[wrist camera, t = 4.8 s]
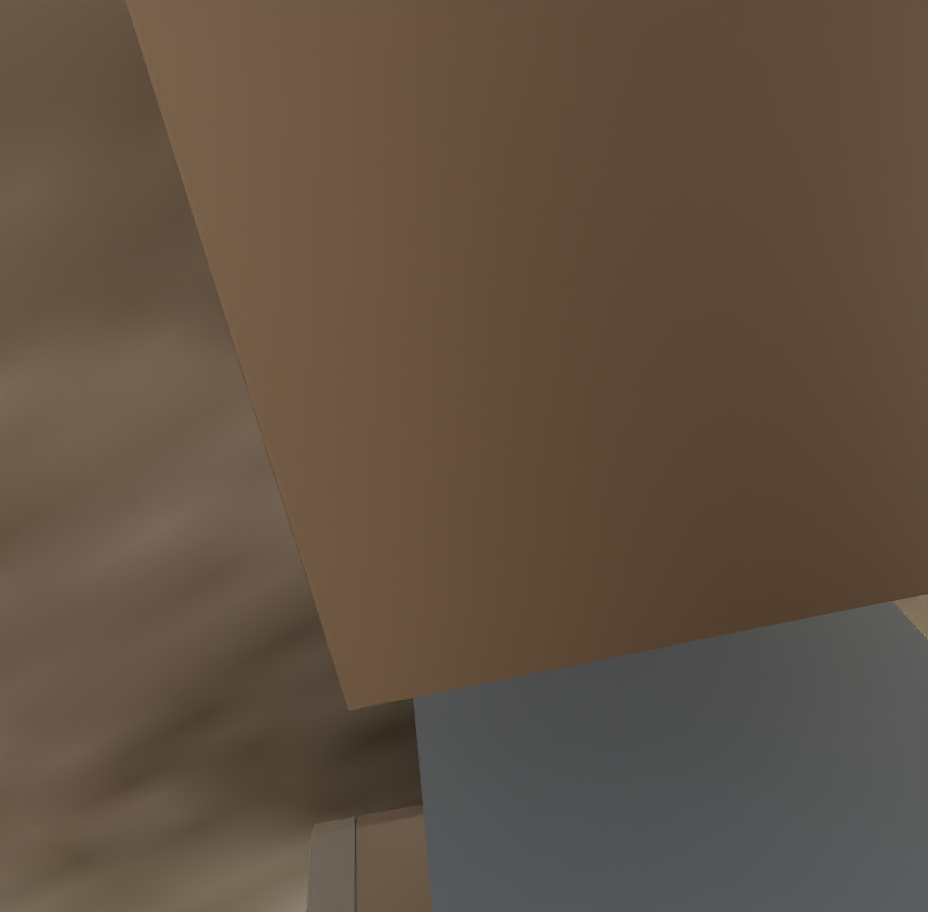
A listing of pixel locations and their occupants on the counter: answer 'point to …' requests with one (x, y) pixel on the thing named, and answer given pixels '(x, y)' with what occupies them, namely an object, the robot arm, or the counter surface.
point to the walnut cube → (567, 311)
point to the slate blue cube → (690, 777)
